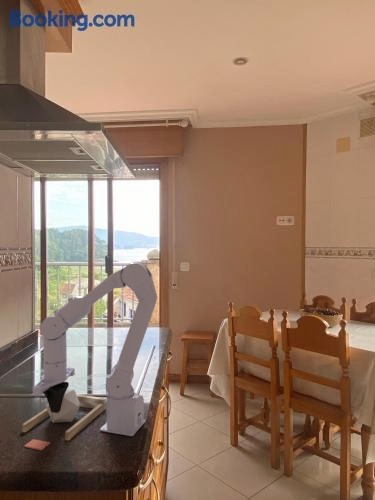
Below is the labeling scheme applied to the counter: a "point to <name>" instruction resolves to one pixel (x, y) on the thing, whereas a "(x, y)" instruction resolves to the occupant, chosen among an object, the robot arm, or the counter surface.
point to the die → (66, 408)
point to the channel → (85, 401)
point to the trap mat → (37, 444)
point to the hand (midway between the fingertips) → (55, 411)
